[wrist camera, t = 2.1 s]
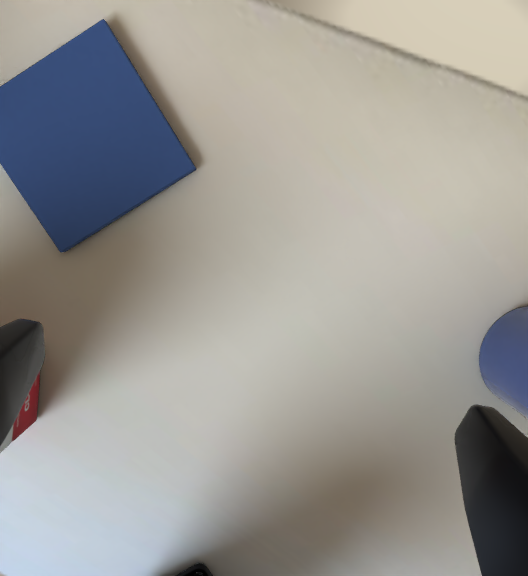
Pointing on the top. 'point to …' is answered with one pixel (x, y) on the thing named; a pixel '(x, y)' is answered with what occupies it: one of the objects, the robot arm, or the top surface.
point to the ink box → (24, 415)
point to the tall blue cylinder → (507, 359)
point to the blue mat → (86, 138)
